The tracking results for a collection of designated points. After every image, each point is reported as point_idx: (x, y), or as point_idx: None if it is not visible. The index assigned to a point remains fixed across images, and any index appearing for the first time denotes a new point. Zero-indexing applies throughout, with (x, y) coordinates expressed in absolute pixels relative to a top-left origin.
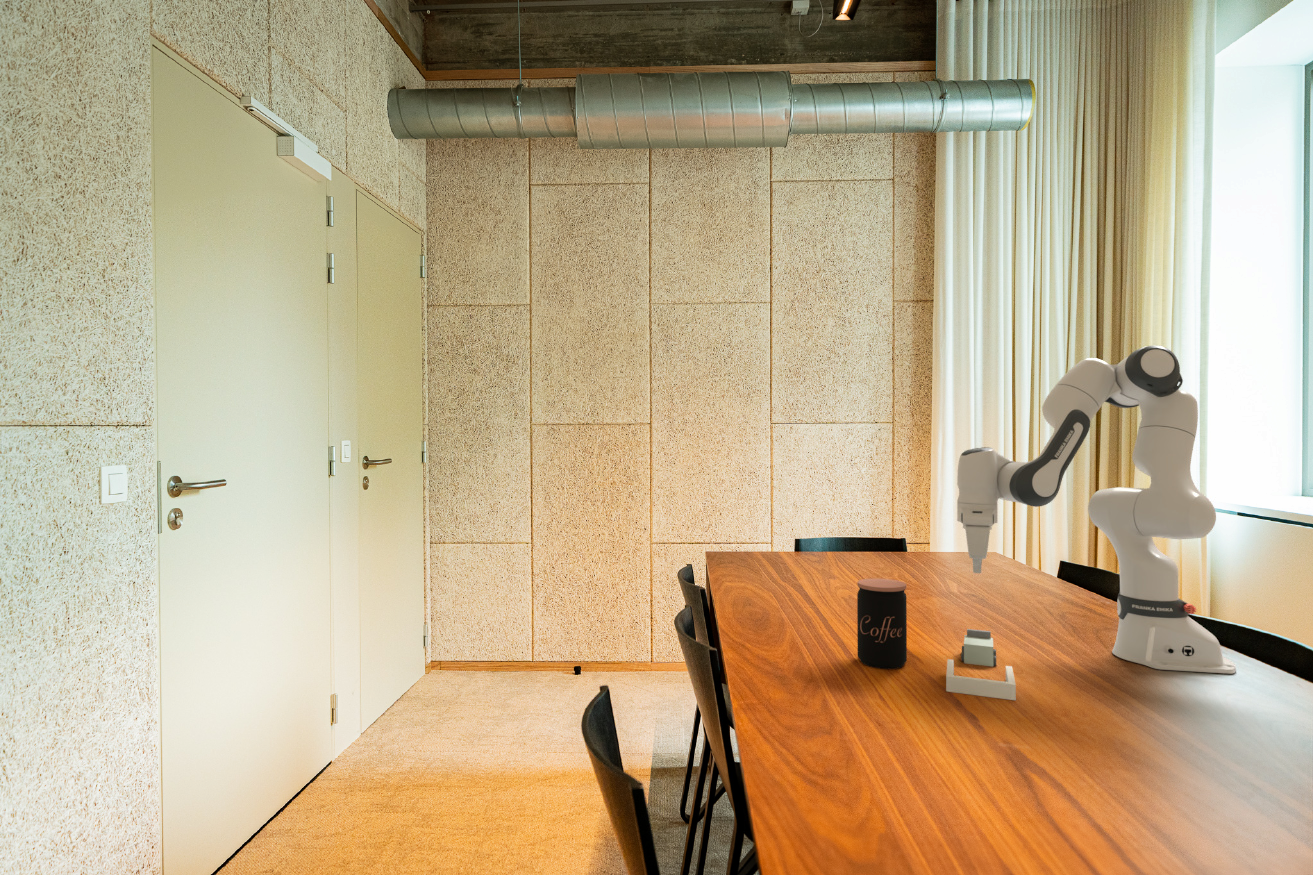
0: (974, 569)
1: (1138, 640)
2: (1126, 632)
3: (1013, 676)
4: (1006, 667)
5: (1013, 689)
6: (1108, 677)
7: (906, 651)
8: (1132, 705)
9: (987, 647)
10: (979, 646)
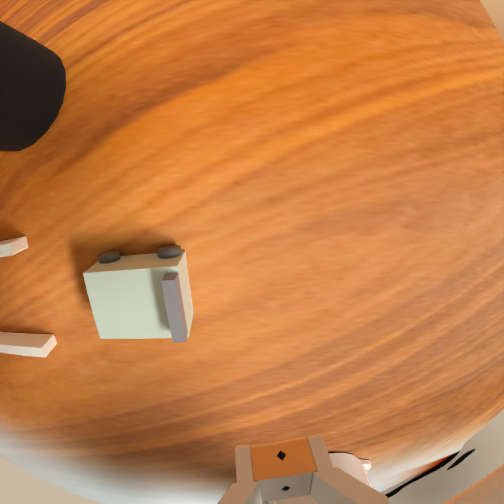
0: (237, 464)
1: (285, 499)
2: (304, 496)
3: (5, 352)
4: (33, 348)
5: None
6: (179, 452)
7: (6, 150)
8: (80, 447)
9: (97, 325)
10: (93, 308)
